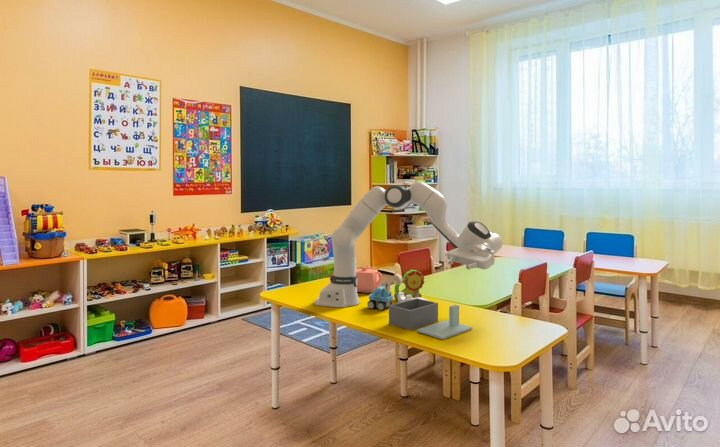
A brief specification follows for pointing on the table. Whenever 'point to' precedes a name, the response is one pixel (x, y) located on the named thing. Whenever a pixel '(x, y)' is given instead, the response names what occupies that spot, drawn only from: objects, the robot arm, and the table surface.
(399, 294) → the bracket
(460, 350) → the table surface
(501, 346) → the table surface
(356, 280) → the robot arm
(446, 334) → the lid
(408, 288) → the toy lion
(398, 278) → the toy excavator
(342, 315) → the table surface
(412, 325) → the tub
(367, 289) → the teapot
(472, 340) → the table surface
